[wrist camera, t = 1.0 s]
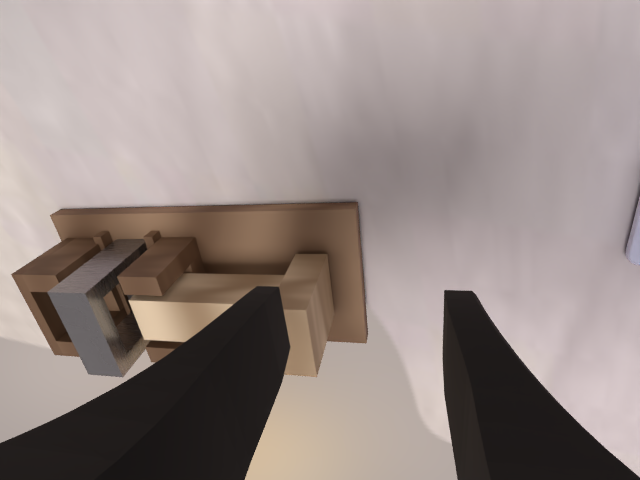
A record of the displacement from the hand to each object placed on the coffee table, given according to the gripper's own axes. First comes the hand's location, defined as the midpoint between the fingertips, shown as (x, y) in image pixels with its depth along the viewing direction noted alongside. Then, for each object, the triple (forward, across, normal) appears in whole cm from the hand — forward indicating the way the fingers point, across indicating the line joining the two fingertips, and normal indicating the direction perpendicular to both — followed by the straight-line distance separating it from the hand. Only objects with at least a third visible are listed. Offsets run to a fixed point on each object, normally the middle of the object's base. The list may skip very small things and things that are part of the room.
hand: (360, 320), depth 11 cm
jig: (+10, +10, +5) cm, 15 cm away
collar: (+9, +14, +5) cm, 17 cm away
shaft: (+9, +7, +5) cm, 13 cm away
